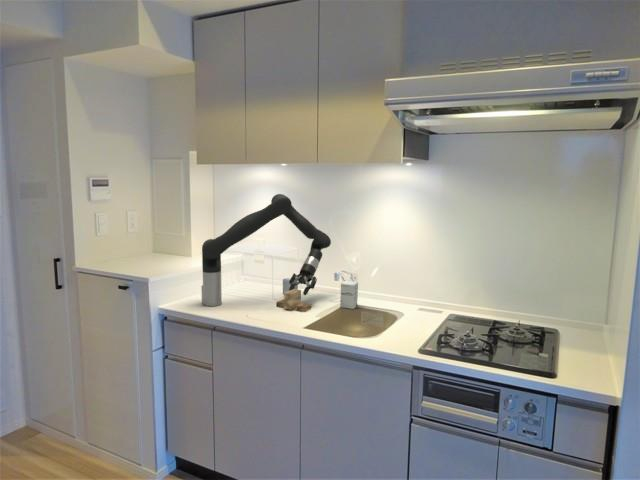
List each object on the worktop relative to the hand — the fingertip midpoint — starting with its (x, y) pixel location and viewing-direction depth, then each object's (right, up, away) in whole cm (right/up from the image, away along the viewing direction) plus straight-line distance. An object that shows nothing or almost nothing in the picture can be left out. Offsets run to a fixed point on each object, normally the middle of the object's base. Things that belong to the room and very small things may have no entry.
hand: (297, 293), depth 235 cm
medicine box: (-5, -4, +24) cm, 25 cm away
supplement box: (+26, -7, +3) cm, 27 cm away
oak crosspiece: (-2, -7, -2) cm, 7 cm away
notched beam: (-2, -7, -1) cm, 8 cm away
